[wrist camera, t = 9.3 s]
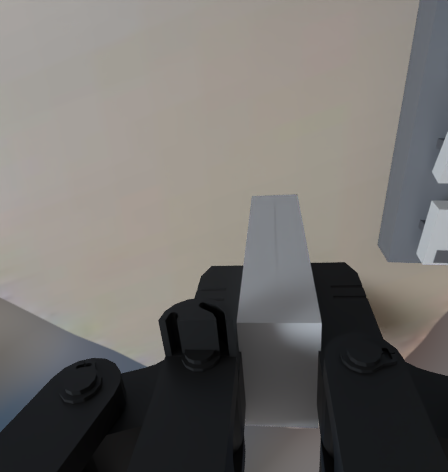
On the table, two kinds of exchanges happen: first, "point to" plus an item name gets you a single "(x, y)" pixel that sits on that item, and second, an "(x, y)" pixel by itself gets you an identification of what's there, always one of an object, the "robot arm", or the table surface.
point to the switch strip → (418, 137)
